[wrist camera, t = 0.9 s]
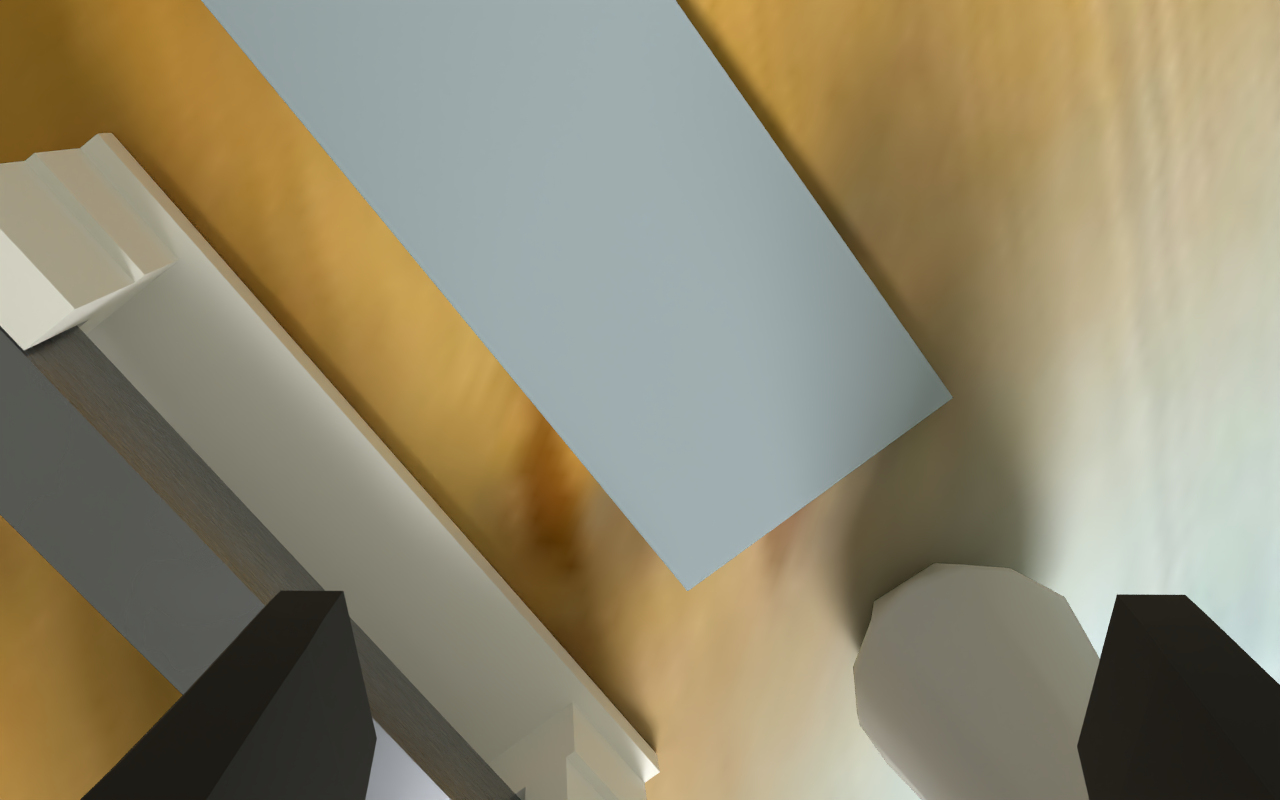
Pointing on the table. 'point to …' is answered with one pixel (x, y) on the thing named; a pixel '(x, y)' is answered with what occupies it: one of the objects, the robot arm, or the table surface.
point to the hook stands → (303, 464)
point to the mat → (612, 245)
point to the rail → (180, 549)
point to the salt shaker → (977, 685)
